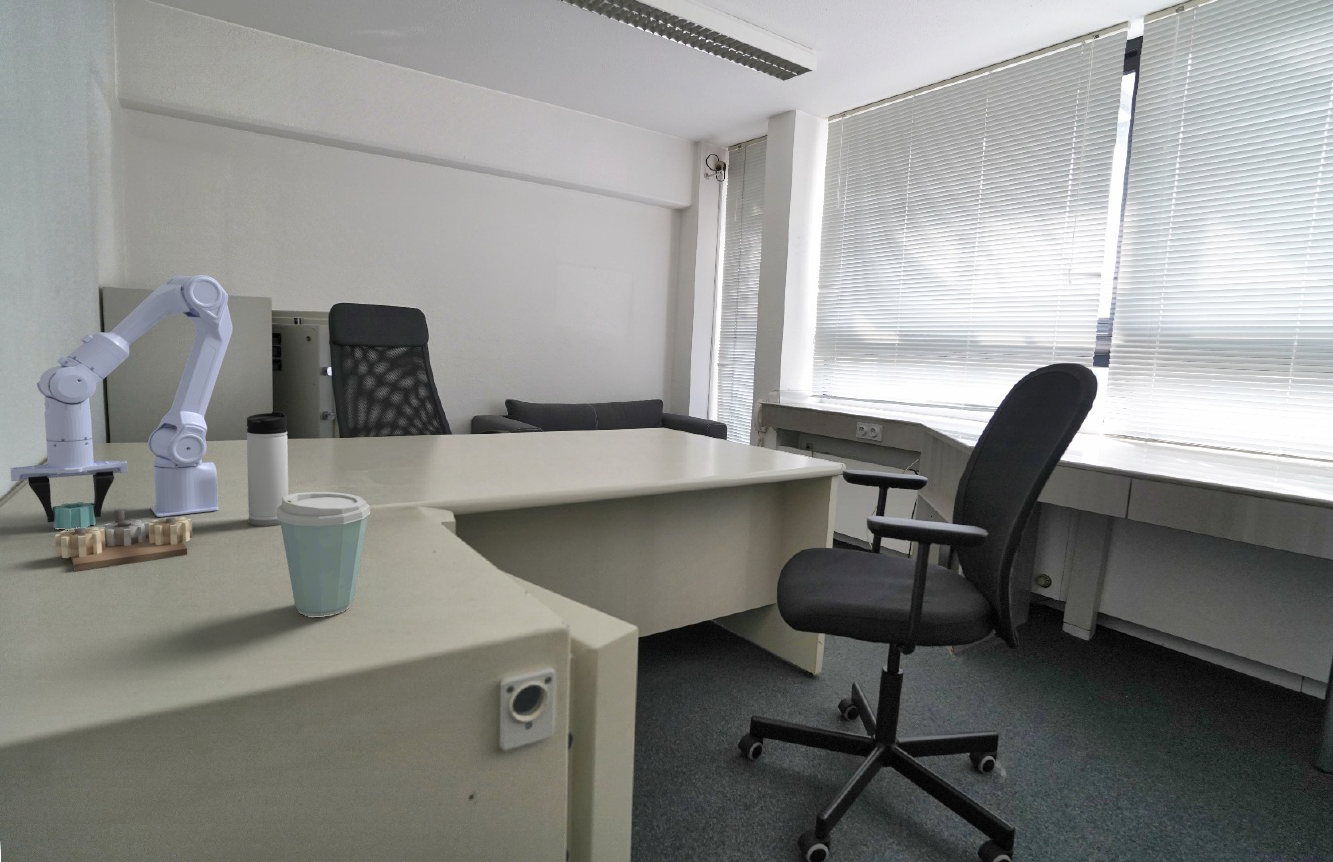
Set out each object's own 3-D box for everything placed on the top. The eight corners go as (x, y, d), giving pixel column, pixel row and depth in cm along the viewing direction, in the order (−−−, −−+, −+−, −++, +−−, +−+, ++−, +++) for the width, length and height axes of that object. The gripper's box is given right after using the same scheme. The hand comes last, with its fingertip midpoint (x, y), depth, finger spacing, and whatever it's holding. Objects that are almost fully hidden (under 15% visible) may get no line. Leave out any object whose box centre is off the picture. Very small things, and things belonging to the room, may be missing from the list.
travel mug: (297, 518, 124) (295, 412, 122) (273, 527, 118) (271, 416, 115) (266, 515, 125) (264, 410, 122) (240, 524, 118) (237, 414, 116)
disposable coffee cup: (347, 587, 93) (347, 483, 91) (386, 610, 86) (386, 498, 84) (264, 607, 85) (262, 493, 83) (300, 634, 78) (298, 511, 76)
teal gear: (94, 520, 116) (92, 500, 115) (96, 527, 112) (95, 507, 112) (52, 524, 112) (51, 504, 112) (54, 532, 109) (53, 511, 108)
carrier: (178, 525, 116) (177, 500, 115) (199, 552, 103) (198, 524, 103) (52, 541, 104) (51, 513, 104) (59, 573, 92) (57, 542, 91)
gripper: (8, 445, 102) (14, 530, 104) (128, 439, 113) (132, 517, 114) (8, 438, 107) (14, 520, 109) (123, 434, 117) (127, 508, 119)
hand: (74, 518), depth 112 cm, fingers closed on teal gear, 5 cm apart
